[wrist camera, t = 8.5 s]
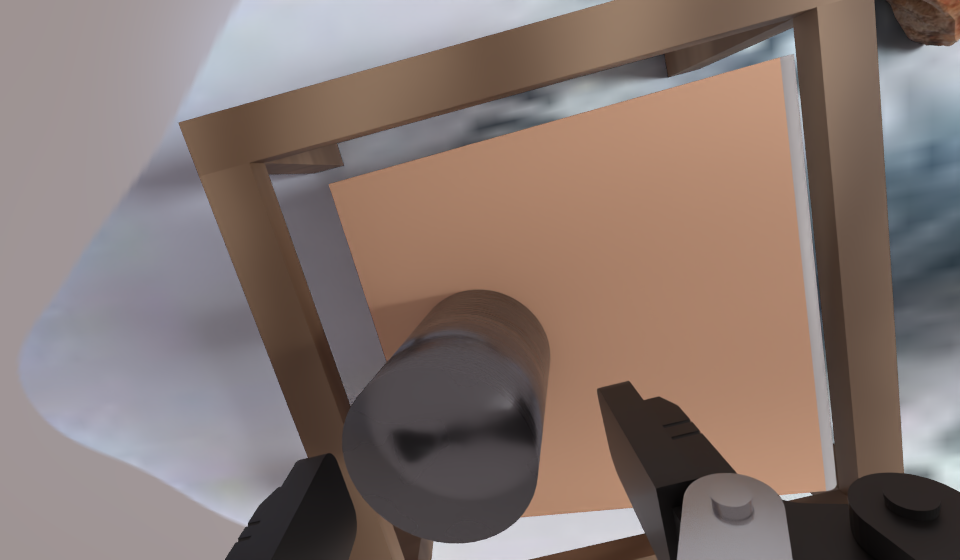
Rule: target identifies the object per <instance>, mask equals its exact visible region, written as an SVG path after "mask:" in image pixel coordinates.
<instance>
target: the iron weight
mask: <svg viewBox="0 0 960 560" xmlns="http://www.w3.org/2000/svg"><path fill="white" fill-rule="evenodd" d="M549 369H550V347H549V342H548V339H547V335H546V333H545V331H544V329H543V327H542V325H541V324H540V322H539V320H538V319H537V318H536V317H535V315H534V314H533V313H532V312H531V311H530V310H529V309H528V308H527V307H526V306H524V305H523V304H522V303H520V302H519V301H517V300H515V299H514V298H512V297H510V296H507V295H505V294H502V293H499V292H495V291H491V290H467V291H462V292H459V293H456V294H453V295H451V296H449V297H447V298H445V299H444V300H442V301H441V302H439V303H438V304H437V305H436V306H435V307H434V308H433V309H432V310H431V311H430V312H429V313H428V314H427V316H426V317H425V318H424V319H423V320H422V321H421V323H420V324H419V325H418V326H417V327H416V328H415V330H414V331H413V332H412V333H411V334H410V336H409V337H408V338H407V339H406V340H405V341H404V343H403V344H402V345H401V346H400V347H399V348H398V350H397V351H396V352H395V353H394V354H393V356H392V357H391V358H390V359H389V360H388V361H387V363H386V364H385V365H384V366H383V367H382V368H381V370H380V371H379V372H378V373H377V374H376V376H375V377H374V378H373V379H372V380H371V381H370V383H369V384H368V385H367V386H366V387H365V388H364V390H363V391H362V392H361V393H360V394H359V396H358V397H357V398H356V400H355V401H354V403H353V404H352V405H351V407H350V409H349V412H348V414H347V416H346V419H345V423H344V426H343V433H342V450H343V457H344V461H345V465H346V468H347V471H348V473H349V476H350V478H351V480H352V482H353V484H354V485H355V487H356V489H357V491H358V492H359V493H360V495H361V496H362V497H363V499H364V500H365V501H366V502H367V503H368V504H369V505H370V506H371V508H372V509H373V510H375V511H376V512H377V513H378V514H379V515H380V516H381V517H383V518H384V519H385V520H387V521H388V522H390V523H391V524H392V525H394V526H396V527H398V528H400V529H401V530H403V531H405V532H408V533H410V534H412V535H414V536H417V537H420V538H424V539H427V540H431V541H436V542H443V543H469V542H476V541H480V540H484V539H487V538H489V537H492V536H495V535H497V534H499V533H500V532H502V531H504V530H506V529H507V528H509V527H510V526H511V525H512V524H514V523H515V522H516V521H517V520H518V519H519V518H520V517H521V516H522V515H523V513H524V512H525V510H526V509H527V508H528V506H529V504H530V502H531V500H532V498H533V496H534V493H535V489H536V486H537V480H538V471H539V462H540V453H541V443H542V434H543V425H544V415H545V406H546V397H547V387H548V378H549Z"/></svg>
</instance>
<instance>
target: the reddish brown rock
mask: <svg viewBox="0 0 960 560" xmlns="http://www.w3.org/2000/svg"><path fill="white" fill-rule="evenodd" d="M886 1H887V2H888V3H889V4H890V5H891V7H892V10H893V12H894V16H895V18H896V19H897V21H898V22H899V24H900V25H901V27H902V29H903V30H904V32H905V33H906V35H907V37H908V38H909V39H911V40H912V41H914V42H919V43H923V44H925V45H935V46H942V45H944V46H951V45H953V44H954V43H955V42H957V41H958V40H959V39H960V0H886Z"/></svg>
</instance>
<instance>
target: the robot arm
mask: <svg viewBox="0 0 960 560" xmlns="http://www.w3.org/2000/svg"><path fill="white" fill-rule="evenodd" d="M597 395H598V400H599V405H600V409H601V414H602V418H603V423H604V428H605V432H606V437H607V441H608V446H609V450H610V454H611V457H612V460H613V463H614V466H615V469H616V472H617V474H618V477H619V479H620V481H621V483H622V485H623V487H624V489H625V492H626V494H627V496H628V498H629V500H630V502H631V504H632V506H633V509H634V511H635V513H636V515H637V517H638V519H639V521H640V523H641V525H642V528H643V530H644V532H645V534H646V536H647V538H648V540H649V542H650V545H651V547H652V549H653V551H654V553H655V555H656V557H657V559H658V560H960V492H958V491H957V490H955V489H953V488H951V487H949V486H947V485H944V484H942V483H939V482H937V481H934V480H931V479H928V478H925V477H920V476H916V475H911V474H905V473H893V472H886V473H874V474H870V475H866V476H863V477H861V478H859V479H857V480H856V481H854V482H853V483H852V484H851V485H850V487H849V489H848V496H847V497H848V504H819V503H797V502H790V501H785V500H782V499H781V497H780V496H779V495H778V494H777V492H776V491H775V490H773V489H772V488H771V487H770V486H768V485H767V484H765V483H763V482H761V481H759V480H757V479H755V478H752V477H749V476H745V475H741V474H737V473H736V471H735V470H734V469H733V468H732V467H731V466H730V465H729V463H728V462H727V461H726V460H725V459H724V458H723V456H722V455H721V454H720V453H719V452H718V451H717V450H716V448H715V447H714V446H713V445H712V444H711V443H710V442H709V440H708V439H707V438H706V437H705V436H704V435H703V433H700V430H699V429H698V428H697V427H696V425H695V424H694V423H693V422H691V421H690V418H689V417H688V416H687V415H686V414H685V413H684V412H683V410H682V409H681V408H680V407H679V406H678V405H676V404H674V403H672V402H670V401H668V400H666V399H664V398H662V397H659V396H658V397H654V398H650V399H646V400H643V399H642V397H641V396H640V394H639V393H638V392H637V390H636V389H635V388H634V386H633V385H632V384H631V382H630V381H625V382H621V383H617V384H613V385H609V386H604V387H600V388H597ZM356 533H357V517H356V512H355V508H354V505H353V502H352V500H351V497H350V494H349V492H348V489H347V486H346V483H345V481H344V478H343V475H342V473H341V470H340V467H339V465H338V462H337V460H336V458H335V456H334V455H333V454H331V453H327V454H323V455H319V456H314V457H310V458H306V459H302V460H299V461H297V462H296V463H295V465H294V467H293V468H292V470H291V472H290V473H289V475H288V476H287V478H286V480H285V481H284V483H283V485H282V486H281V487H278V488H277V489H276V490H275V491H274V492H273V493H272V494H271V495H270V496H269V497H268V498H266V499H265V500H264V501H263V502H262V503H261V504H260V505H259V507H258V508H257V510H256V511H255V513H254V515H253V516H252V518H251V519H250V521H249V522H248V527H245V529H244V531H243V532H242V533H241V535H240V537H239V538H238V542H237V543H235V544H234V546H233V548H232V549H231V551H230V552H229V554H228V555H227V557H226V559H225V560H349V557H350V554H351V551H352V548H353V545H354V541H355V538H356Z"/></svg>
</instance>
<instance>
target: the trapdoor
mask: <svg viewBox="0 0 960 560" xmlns="http://www.w3.org/2000/svg"><path fill="white" fill-rule="evenodd" d="M329 187H330V190H331V193H332V196H333V199H334V202H335V205H336V209H337V212H338V215H339V218H340V221H341V224H342V227H343V230H344V233H345V236H346V239H347V242H348V245H349V248H350V251H351V254H352V257H353V261H354V264H355V267H356V270H357V273H358V276H359V279H360V282H361V285H362V288H363V291H364V294H365V297H366V300H367V303H368V306H369V309H370V313H371V316H372V319H373V322H374V325H375V328H376V331H377V334H378V337H379V340H380V343H381V346H382V349H383V352H384V355H385V358H386V361H388V360H389V359H390V358H391V357H392V356H393V354H394V353H395V352H396V351H397V350H398V348H399V347H400V346H401V345H402V344H403V343H404V341H405V340H406V339H407V338H408V337H409V336H410V334H411V333H412V332H413V331H414V330H415V328H416V327H417V326H418V325H419V324H420V323H421V321H422V320H423V319H424V318H425V317H426V316H427V314H428V313H429V312H430V311H431V310H432V309H433V308H434V307H435V306H436V305H437V304H438V303H439V302H441V301H442V300H444V299H445V298H447V297H449V296H451V295H453V294H456V293H459V292H462V291H467V290H491V291H495V292H499V293H502V294H505V295H507V296H510V297H512V298H514V299H515V300H517V301H519V302H520V303H522V304H523V305H524V306H526V307H527V308H528V309H529V310H530V311H531V312H532V313H533V314H534V315H535V317H536V318H537V319H538V320H539V322H540V324H541V325H542V327H543V329H544V331H545V333H546V335H547V339H548V342H549V347H550V369H549V378H548V387H547V397H546V406H545V415H544V425H543V434H542V443H541V453H540V462H539V471H538V480H537V486H536V489H535V493H534V496H533V498H532V500H531V502H530V504H529V506H528V508H527V509H526V510H525V512H524V513H523V515H522V516H521V517H530V516H542V515H553V514H565V513H577V512H588V511H600V510H611V509H623V508H633V506H632V504H631V502H630V500H629V498H628V496H627V494H626V492H625V489H624V487H623V485H622V483H621V481H620V479H619V477H618V474H617V472H616V469H615V466H614V463H613V460H612V457H611V454H610V450H609V446H608V441H607V437H606V432H605V428H604V423H603V418H602V414H601V409H600V405H599V400H598V395H597V388H600V387H604V386H609V385H613V384H617V383H621V382H625V381H630V382H631V384H632V385H633V386H634V388H635V389H636V390H637V392H638V393H639V394H640V396H641V397H642V399H643V400H646V399H650V398H654V397H658V396H659V397H662V398H664V399H666V400H668V401H670V402H672V403H674V404H676V405H678V406H679V407H680V408H681V409H682V410H683V412H684V413H685V414H686V415H687V416H688V417H689V418H690V421H691V422H693V423H694V424H695V425H696V427H697V428H698V429H699V430H700V433H703V435H704V436H705V437H706V438H707V439H708V440H709V442H710V443H711V444H712V445H713V446H714V447H715V448H716V450H717V451H718V452H719V453H720V454H721V455H722V456H723V458H724V459H725V460H726V461H727V462H728V463H729V465H730V466H731V467H732V468H733V469H734V470H735V471H736V473H737V474H741V475H745V476H749V477H752V478H755V479H757V480H759V481H761V482H763V483H765V484H767V485H768V486H770V487H771V488H772V489H773V490H775V491H776V492H777V494H778V495H785V494H797V493H808V492H820V491H829V490H832V489H834V488H835V487H836V485H837V482H836V472H835V462H834V452H833V442H832V432H831V422H830V412H829V402H828V392H827V382H826V372H825V362H824V352H823V342H822V332H821V322H820V312H819V302H818V292H817V282H816V272H815V262H814V252H813V242H812V232H811V222H810V212H809V202H808V192H807V182H806V172H805V162H804V152H803V142H802V132H801V122H800V112H799V102H798V92H797V83H796V73H795V63H794V54H792V55H787V56H784V57H780V58H776V59H773V60H769V61H766V62H762V63H759V64H755V65H751V66H748V67H744V68H741V69H737V70H734V71H730V72H727V73H723V74H719V75H716V76H712V77H709V78H705V79H702V80H698V81H694V82H691V83H687V84H684V85H680V86H677V87H673V88H669V89H666V90H662V91H659V92H655V93H652V94H648V95H645V96H641V97H637V98H634V99H630V100H627V101H623V102H620V103H616V104H612V105H609V106H605V107H602V108H598V109H595V110H591V111H588V112H584V113H580V114H577V115H573V116H570V117H566V118H563V119H559V120H555V121H552V122H548V123H545V124H541V125H538V126H534V127H531V128H527V129H523V130H520V131H516V132H513V133H509V134H506V135H502V136H498V137H495V138H491V139H488V140H484V141H481V142H477V143H473V144H470V145H466V146H463V147H459V148H456V149H452V150H449V151H445V152H441V153H438V154H434V155H431V156H427V157H424V158H420V159H416V160H413V161H409V162H406V163H402V164H399V165H395V166H392V167H388V168H384V169H381V170H377V171H374V172H370V173H367V174H363V175H359V176H356V177H352V178H349V179H345V180H342V181H338V182H335V183H331V184H329Z"/></svg>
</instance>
